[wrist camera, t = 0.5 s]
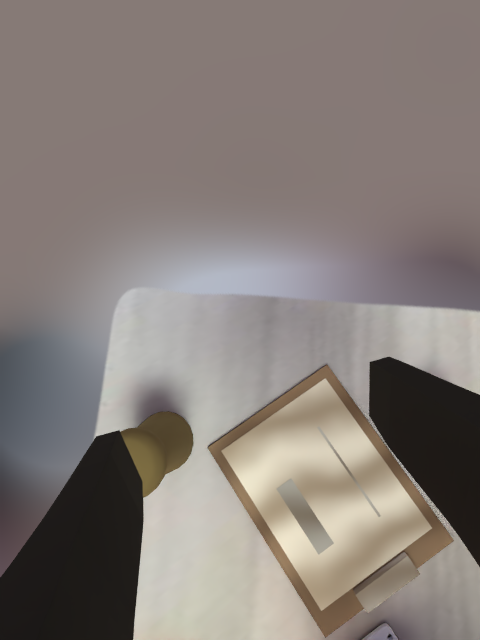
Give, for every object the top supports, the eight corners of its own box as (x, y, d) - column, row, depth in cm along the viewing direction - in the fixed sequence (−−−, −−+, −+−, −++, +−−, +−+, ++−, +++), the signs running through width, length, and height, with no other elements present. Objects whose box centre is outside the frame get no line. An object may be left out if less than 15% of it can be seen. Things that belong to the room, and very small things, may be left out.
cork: (163, 399, 36) (123, 408, 25) (205, 438, 35) (183, 464, 24) (124, 444, 35) (66, 473, 24) (166, 485, 34) (125, 533, 24)
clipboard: (451, 538, 32) (458, 544, 31) (324, 634, 32) (327, 644, 30) (326, 364, 36) (328, 364, 35) (208, 447, 35) (206, 449, 34)
